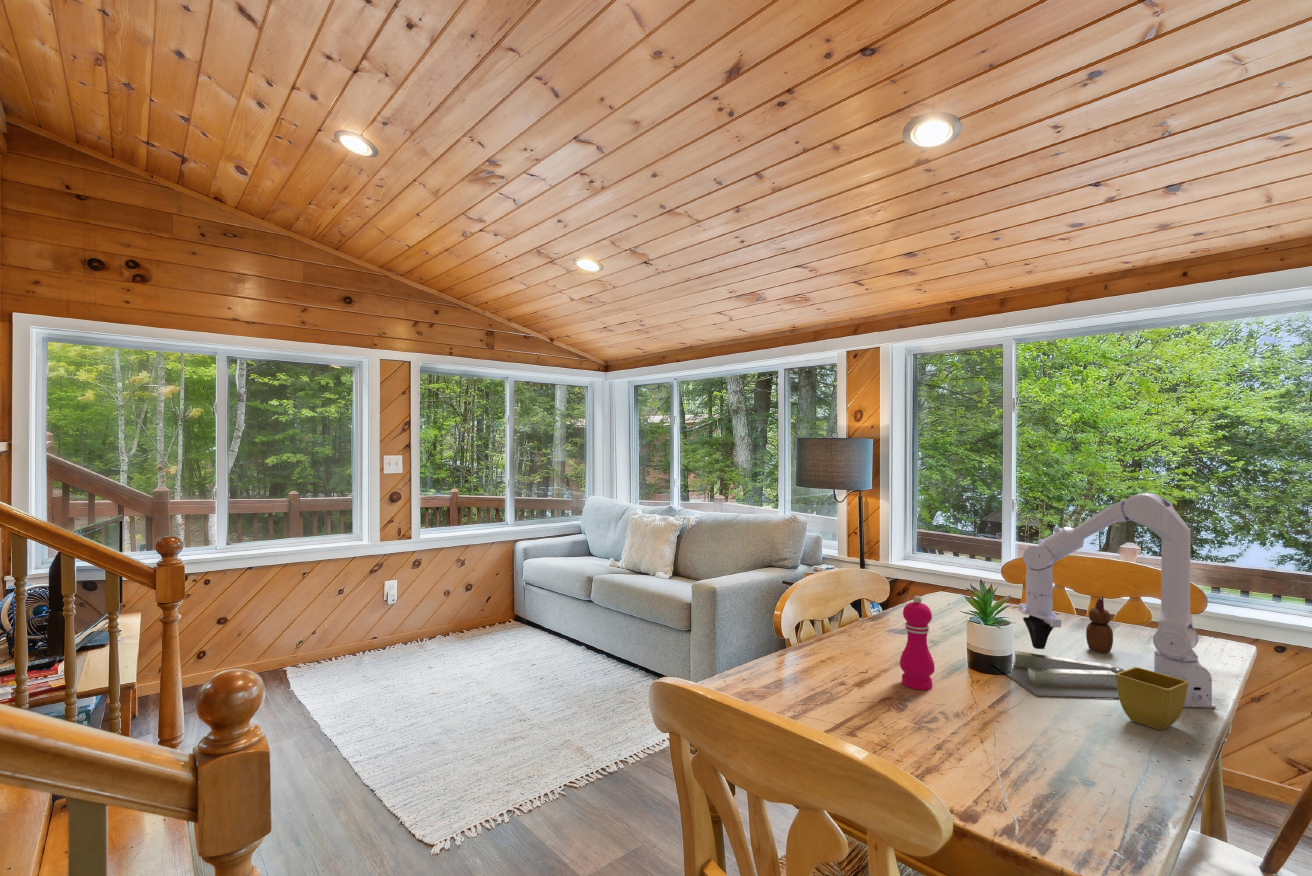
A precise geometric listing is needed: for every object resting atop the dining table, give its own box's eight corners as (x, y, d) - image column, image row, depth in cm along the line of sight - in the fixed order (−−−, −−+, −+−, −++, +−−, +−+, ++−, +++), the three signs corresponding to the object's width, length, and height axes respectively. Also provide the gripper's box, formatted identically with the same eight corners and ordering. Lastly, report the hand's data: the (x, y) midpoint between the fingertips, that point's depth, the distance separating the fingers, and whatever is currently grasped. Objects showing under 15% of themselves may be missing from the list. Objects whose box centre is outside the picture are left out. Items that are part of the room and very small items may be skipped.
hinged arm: (1121, 679, 140) (1121, 665, 140) (1125, 685, 136) (1125, 671, 136) (1014, 663, 150) (1014, 650, 150) (1015, 668, 146) (1016, 655, 146)
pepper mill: (938, 692, 133) (938, 600, 133) (903, 689, 134) (903, 598, 134) (930, 680, 140) (930, 592, 140) (896, 677, 141) (897, 591, 141)
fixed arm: (1109, 683, 138) (1109, 670, 138) (1117, 688, 135) (1117, 674, 135) (1028, 681, 139) (1028, 668, 139) (1034, 686, 136) (1034, 672, 136)
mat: (1166, 700, 130) (1166, 698, 130) (1036, 696, 131) (1036, 695, 131) (1101, 666, 150) (1101, 665, 150) (989, 663, 151) (989, 662, 151)
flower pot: (1189, 727, 117) (1189, 680, 117) (1169, 738, 113) (1169, 689, 113) (1135, 710, 125) (1135, 666, 125) (1114, 719, 120) (1114, 673, 121)
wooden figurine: (1113, 657, 157) (1113, 598, 157) (1085, 652, 160) (1085, 595, 161) (1113, 650, 162) (1113, 594, 163) (1086, 646, 166) (1086, 590, 166)
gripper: (1007, 586, 159) (1006, 638, 159) (1039, 600, 145) (1039, 657, 144) (1034, 586, 159) (1034, 639, 159) (1070, 601, 144) (1069, 658, 144)
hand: (1038, 648), depth 151 cm, fingers closed
